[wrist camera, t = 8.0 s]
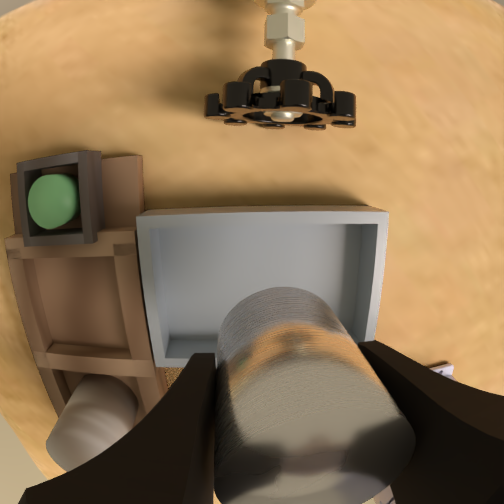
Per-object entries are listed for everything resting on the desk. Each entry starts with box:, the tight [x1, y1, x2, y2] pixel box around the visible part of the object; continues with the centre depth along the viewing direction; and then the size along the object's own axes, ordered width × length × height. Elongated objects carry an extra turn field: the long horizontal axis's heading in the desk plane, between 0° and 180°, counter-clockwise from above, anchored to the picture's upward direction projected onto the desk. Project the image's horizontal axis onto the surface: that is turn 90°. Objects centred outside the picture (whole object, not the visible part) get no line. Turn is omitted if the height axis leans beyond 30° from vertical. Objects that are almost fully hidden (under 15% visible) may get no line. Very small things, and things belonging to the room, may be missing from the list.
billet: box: [214, 287, 416, 504], centre depth 8 cm, size 4×4×6 cm
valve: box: [204, 0, 356, 130], centre depth 11 cm, size 7×7×12 cm
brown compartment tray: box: [5, 150, 168, 472], centre depth 14 cm, size 8×20×7 cm, turn 1°
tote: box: [136, 205, 389, 367], centre depth 17 cm, size 12×8×2 cm
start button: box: [28, 173, 81, 229], centre depth 14 cm, size 3×3×2 cm
